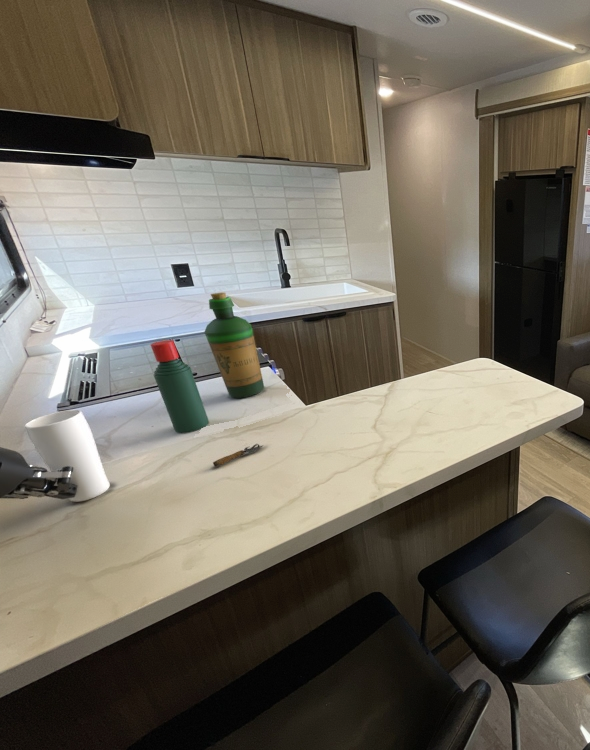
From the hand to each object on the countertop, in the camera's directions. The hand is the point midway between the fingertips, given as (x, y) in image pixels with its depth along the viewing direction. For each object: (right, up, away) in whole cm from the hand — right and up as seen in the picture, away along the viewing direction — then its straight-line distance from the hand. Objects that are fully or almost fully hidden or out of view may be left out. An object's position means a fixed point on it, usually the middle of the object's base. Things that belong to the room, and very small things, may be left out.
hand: (71, 492), depth 67 cm
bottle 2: (+1, +14, +46) cm, 48 cm away
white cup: (0, -2, +4) cm, 4 cm away
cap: (-2, +23, +21) cm, 32 cm away
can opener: (+20, +3, +13) cm, 24 cm away
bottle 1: (-1, +7, +27) cm, 28 cm away
